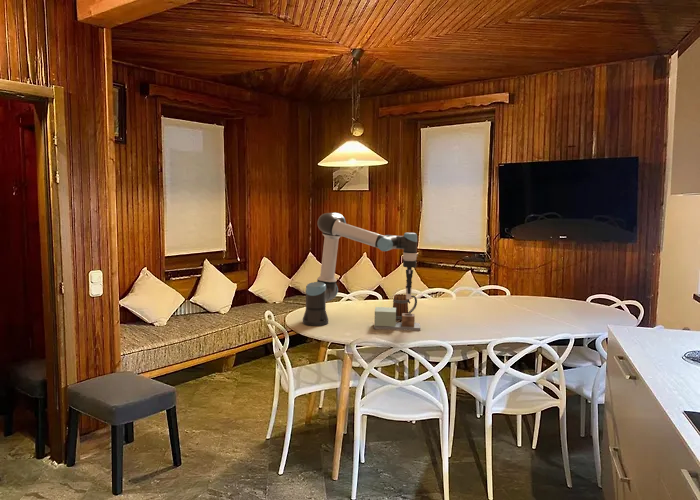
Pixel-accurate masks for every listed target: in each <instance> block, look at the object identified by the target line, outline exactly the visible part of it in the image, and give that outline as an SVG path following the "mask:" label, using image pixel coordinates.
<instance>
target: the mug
mask: <svg viewBox="0 0 700 500" xmlns="http://www.w3.org/2000/svg"><path fill="white" fill-rule="evenodd" d="M411 298H413V299H414V305H413V307H412V308H411V309H410V310H409V304H411V301H410V299H406V293H405V294H404V293H396V294H394V295H393V299H392V308H396V322H402V313H409V314H412V313H413V312H414V310H415V309H416V308H417V305H418V299H417V297H416V295H413V294H411Z"/></svg>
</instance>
